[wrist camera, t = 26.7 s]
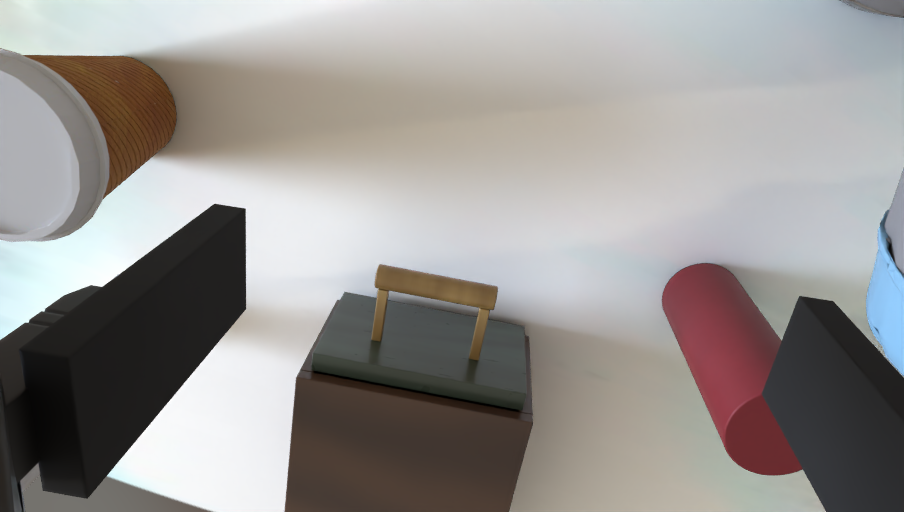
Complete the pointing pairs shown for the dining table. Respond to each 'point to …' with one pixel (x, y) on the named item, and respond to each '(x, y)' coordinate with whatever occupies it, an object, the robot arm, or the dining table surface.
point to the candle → (730, 363)
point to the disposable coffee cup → (73, 137)
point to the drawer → (426, 342)
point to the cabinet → (400, 448)
